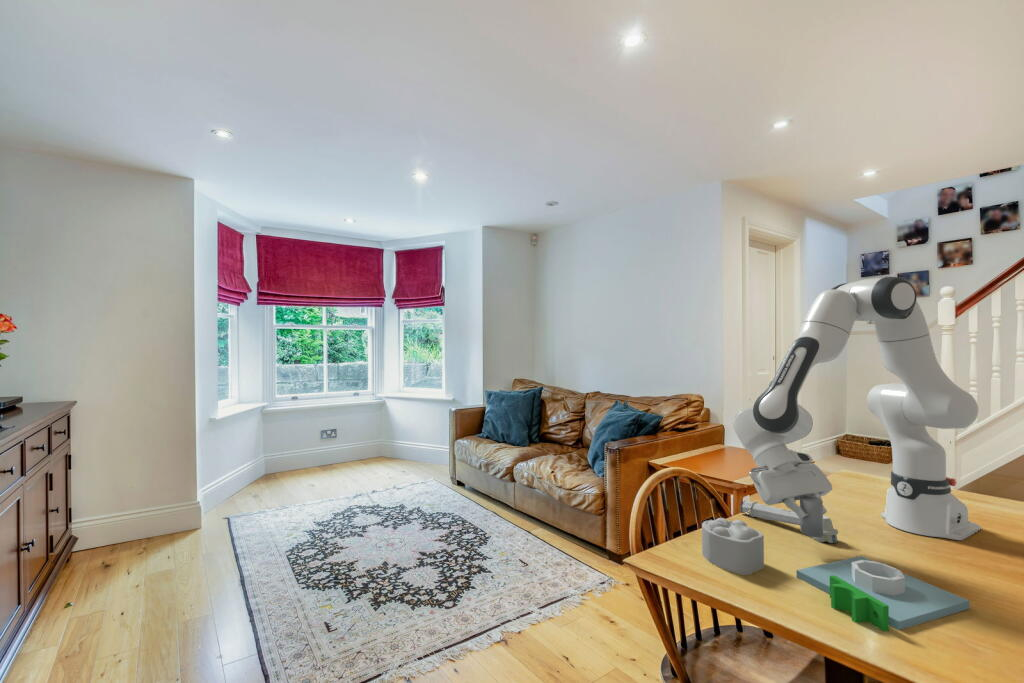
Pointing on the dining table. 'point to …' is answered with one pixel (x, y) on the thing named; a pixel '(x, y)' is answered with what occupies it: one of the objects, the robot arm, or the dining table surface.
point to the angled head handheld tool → (787, 518)
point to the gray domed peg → (812, 516)
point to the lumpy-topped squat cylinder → (733, 546)
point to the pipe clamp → (858, 604)
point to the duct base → (898, 605)
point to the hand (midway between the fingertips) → (813, 515)
